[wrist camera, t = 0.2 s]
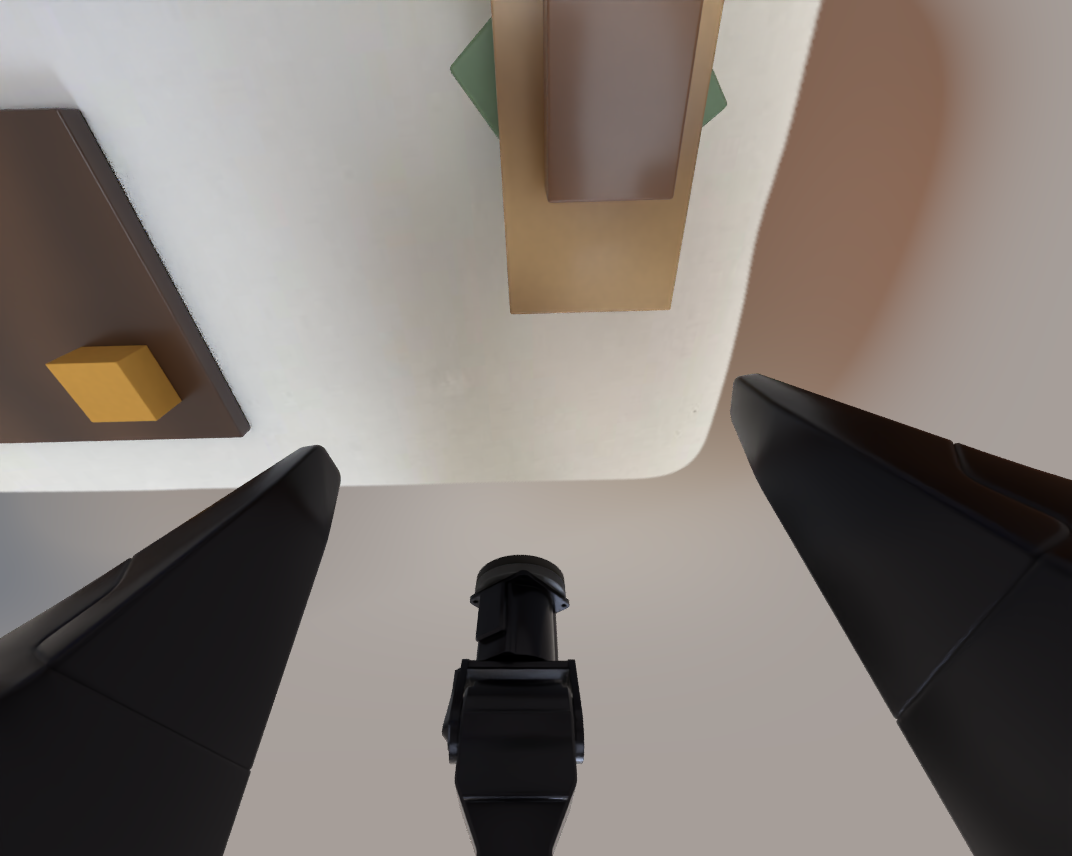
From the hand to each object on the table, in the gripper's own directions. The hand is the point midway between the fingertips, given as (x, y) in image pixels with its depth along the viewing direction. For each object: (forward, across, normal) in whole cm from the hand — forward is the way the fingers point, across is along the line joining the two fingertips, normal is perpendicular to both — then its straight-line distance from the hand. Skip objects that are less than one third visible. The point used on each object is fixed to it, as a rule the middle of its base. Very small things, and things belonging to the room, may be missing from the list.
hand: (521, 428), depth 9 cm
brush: (+6, -3, -6) cm, 9 cm away
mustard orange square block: (+13, +22, +2) cm, 26 cm away
